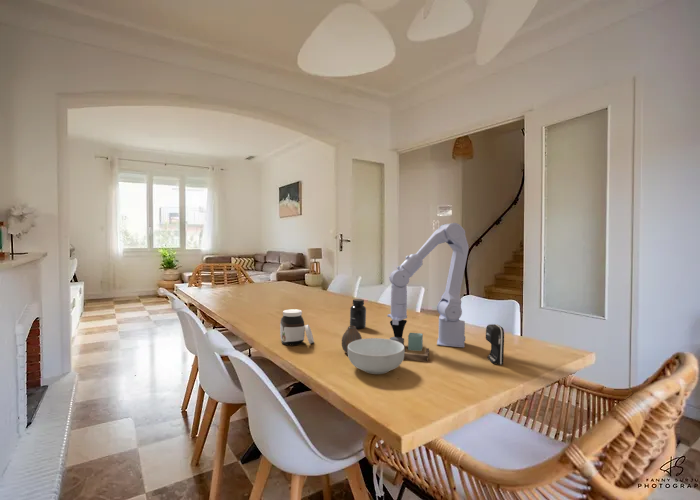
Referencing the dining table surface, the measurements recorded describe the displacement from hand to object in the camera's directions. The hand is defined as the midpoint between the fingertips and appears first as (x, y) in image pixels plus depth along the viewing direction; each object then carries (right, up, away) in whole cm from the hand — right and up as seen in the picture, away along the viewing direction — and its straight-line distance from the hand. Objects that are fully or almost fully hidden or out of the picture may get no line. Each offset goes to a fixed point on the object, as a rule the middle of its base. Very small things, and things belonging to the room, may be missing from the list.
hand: (398, 340), depth 131 cm
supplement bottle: (-14, -1, +25) cm, 29 cm away
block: (+5, -2, -5) cm, 7 cm away
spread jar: (-37, -1, +1) cm, 37 cm away
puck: (-1, -2, -3) cm, 4 cm away
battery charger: (+28, -2, -18) cm, 33 cm away
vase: (-17, -2, -10) cm, 20 cm away
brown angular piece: (0, -2, -12) cm, 12 cm away
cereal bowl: (-10, -2, -25) cm, 27 cm away
